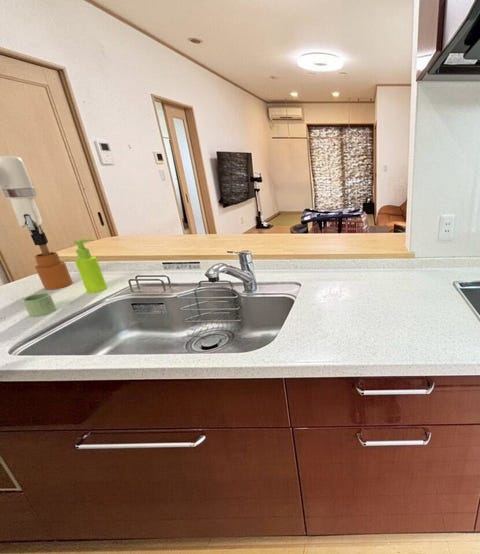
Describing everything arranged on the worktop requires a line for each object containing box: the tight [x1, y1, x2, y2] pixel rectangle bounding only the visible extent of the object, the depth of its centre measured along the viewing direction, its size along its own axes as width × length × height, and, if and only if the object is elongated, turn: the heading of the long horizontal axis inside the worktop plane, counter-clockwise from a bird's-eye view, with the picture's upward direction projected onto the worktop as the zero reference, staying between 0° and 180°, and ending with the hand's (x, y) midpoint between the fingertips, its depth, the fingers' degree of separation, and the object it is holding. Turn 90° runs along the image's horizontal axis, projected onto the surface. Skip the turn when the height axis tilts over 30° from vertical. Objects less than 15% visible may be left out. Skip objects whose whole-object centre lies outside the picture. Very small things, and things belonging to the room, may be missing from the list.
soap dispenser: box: [73, 238, 108, 294], centre depth 110 cm, size 6×7×20 cm
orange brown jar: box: [34, 251, 74, 291], centre depth 115 cm, size 8×8×13 cm
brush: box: [38, 244, 51, 256], centre depth 113 cm, size 4×4×18 cm
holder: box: [21, 292, 58, 318], centre depth 96 cm, size 6×6×6 cm
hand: (41, 243), depth 111 cm, fingers closed on brush, 2 cm apart
